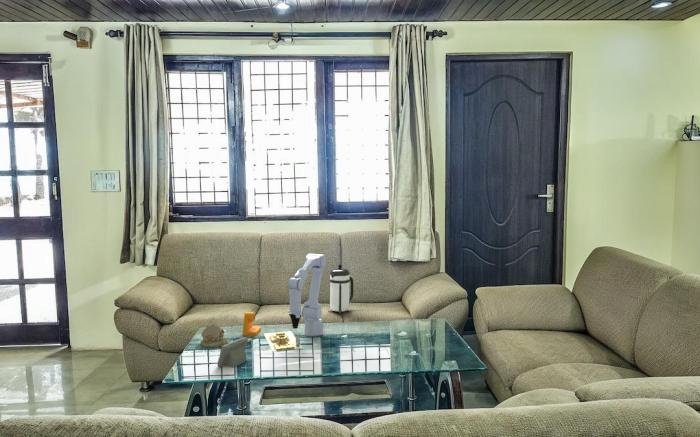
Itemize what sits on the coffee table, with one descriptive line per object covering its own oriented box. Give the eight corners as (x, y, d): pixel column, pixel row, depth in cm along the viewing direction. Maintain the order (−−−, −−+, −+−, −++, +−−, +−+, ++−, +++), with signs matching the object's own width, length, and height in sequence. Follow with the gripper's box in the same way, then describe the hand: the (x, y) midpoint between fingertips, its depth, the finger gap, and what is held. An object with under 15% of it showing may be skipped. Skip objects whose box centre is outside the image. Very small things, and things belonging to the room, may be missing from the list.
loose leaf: (286, 335, 274) (286, 328, 274) (289, 340, 267) (289, 332, 267) (269, 337, 271) (269, 329, 271) (272, 342, 264) (271, 334, 264)
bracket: (256, 337, 274) (255, 315, 273) (242, 336, 275) (242, 314, 274) (261, 331, 285) (261, 309, 284) (248, 330, 286) (248, 309, 284)
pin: (299, 344, 261) (299, 333, 260) (300, 346, 258) (300, 334, 258) (294, 345, 260) (294, 333, 260) (295, 346, 258) (295, 335, 257)
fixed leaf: (289, 340, 267) (289, 334, 266) (294, 348, 255) (294, 341, 255) (272, 342, 264) (272, 335, 264) (276, 350, 252) (276, 343, 252)
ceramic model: (195, 345, 261) (195, 326, 260) (207, 338, 272) (207, 319, 271) (220, 348, 258) (220, 328, 257) (231, 341, 268) (231, 322, 267)
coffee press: (353, 315, 317) (353, 266, 314) (327, 314, 317) (327, 266, 314) (353, 307, 334) (353, 261, 331) (328, 307, 334) (328, 261, 331)
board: (291, 332, 282) (291, 331, 282) (302, 349, 256) (302, 348, 256) (263, 335, 278) (263, 333, 278) (272, 352, 251) (272, 351, 251)
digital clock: (242, 356, 247) (241, 334, 246) (253, 360, 241) (253, 338, 240) (212, 365, 235) (212, 342, 234) (224, 370, 229) (224, 347, 228)
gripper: (284, 298, 264) (284, 324, 265) (290, 305, 250) (290, 333, 252) (298, 297, 266) (298, 323, 268) (304, 304, 253) (304, 331, 254)
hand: (295, 328), depth 260 cm, fingers closed
